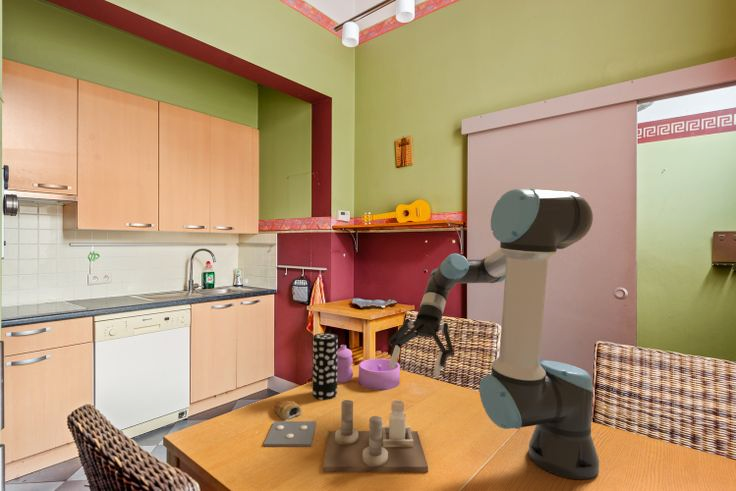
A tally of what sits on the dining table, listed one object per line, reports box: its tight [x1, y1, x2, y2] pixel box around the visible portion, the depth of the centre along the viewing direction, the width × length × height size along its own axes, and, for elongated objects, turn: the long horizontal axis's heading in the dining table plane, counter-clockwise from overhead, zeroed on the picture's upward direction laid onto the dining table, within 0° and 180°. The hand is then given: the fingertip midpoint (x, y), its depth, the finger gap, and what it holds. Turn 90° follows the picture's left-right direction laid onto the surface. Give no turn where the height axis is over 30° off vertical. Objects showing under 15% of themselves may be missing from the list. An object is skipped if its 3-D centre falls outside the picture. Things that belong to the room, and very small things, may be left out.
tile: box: [263, 420, 317, 447], centre depth 102 cm, size 12×12×1 cm
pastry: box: [273, 400, 303, 421], centre depth 115 cm, size 9×7×4 cm
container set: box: [337, 344, 401, 391], centre depth 141 cm, size 25×15×13 cm, turn 86°
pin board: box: [322, 399, 429, 473], centre depth 94 cm, size 24×16×11 cm, turn 91°
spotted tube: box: [312, 332, 339, 401], centre depth 128 cm, size 8×8×20 cm
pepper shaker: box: [388, 399, 406, 439], centre depth 98 cm, size 4×4×10 cm
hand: (412, 371), depth 107 cm, fingers open, 13 cm apart
